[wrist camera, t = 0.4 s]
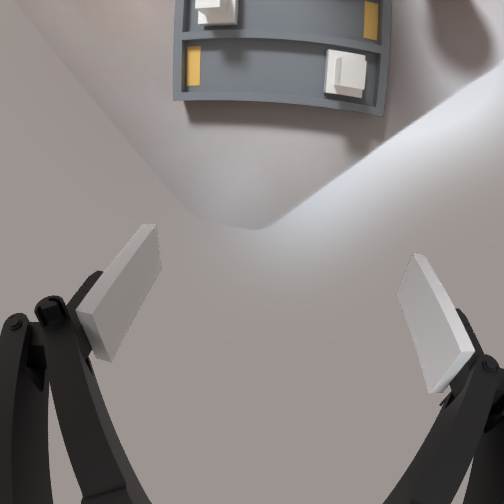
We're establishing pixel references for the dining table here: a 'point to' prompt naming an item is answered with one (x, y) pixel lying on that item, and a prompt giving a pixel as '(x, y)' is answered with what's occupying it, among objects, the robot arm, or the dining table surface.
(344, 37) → the grey divided tray
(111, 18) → the dining table surface
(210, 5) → the tab
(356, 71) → the tab
